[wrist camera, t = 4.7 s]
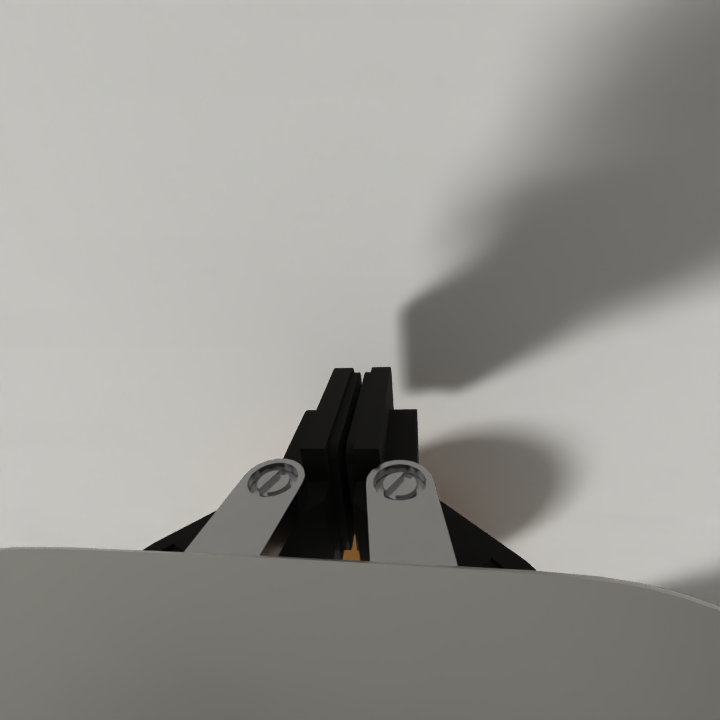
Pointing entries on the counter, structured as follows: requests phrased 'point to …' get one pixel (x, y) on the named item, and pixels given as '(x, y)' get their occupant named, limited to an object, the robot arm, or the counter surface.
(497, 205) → the counter surface
